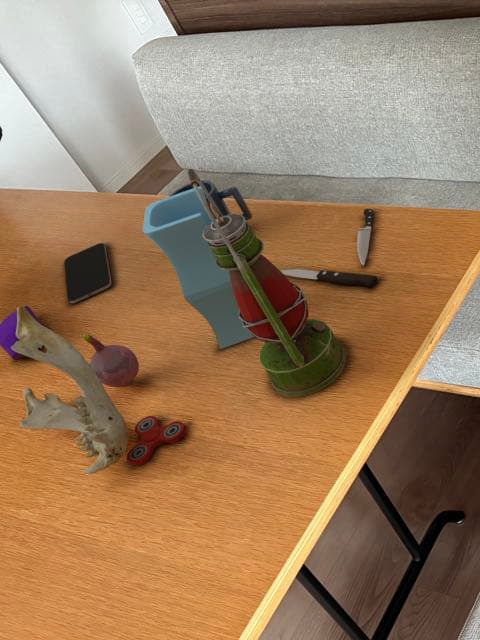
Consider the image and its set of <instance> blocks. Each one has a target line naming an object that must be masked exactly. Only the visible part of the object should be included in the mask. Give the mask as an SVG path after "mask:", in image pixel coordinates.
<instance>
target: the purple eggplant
mask: <svg viewBox="0 0 480 640" xmlns="http://www.w3.org/2000/svg"><path fill="white" fill-rule="evenodd" d="M23 307H25V309H26V310H27V311H28V312H29V314H30V315H31V316H32V317H33V318H34V319H35V320H36V321H37V322H38V323H40V321H39V319H38V317H37V316H36V314H35V312H34V311H33V310H32V308H31V307H30V306H29V305H24V306H23ZM40 324H41V323H40ZM16 329H17V309H16V310H15V311H13V312H11V313H10V314H9V315H8V316H6V317H5V318H3V320H2V321H1V322H0V347H1V348H2V349H3V351H5V352H6V354H7V355H8V356H9V357H10V358H11V359H12V360H19V359H23V358H25V357H26V356H25V355H22V354H20V353H17V352H16V351H14V350H12V349H11V346H13V345H14V344H15V343H16V341H19V340H20V339H18V338H17V336H16ZM40 349H41V348H39V347H38V350H39V351H40Z"/></svg>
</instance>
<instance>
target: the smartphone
mask: <svg viewBox="0 0 480 640" xmlns="http://www.w3.org/2000/svg"><path fill="white" fill-rule="evenodd" d="M64 272H65V273H64V274H65V284H66V295H67V296H66V297H67V301H68V302H69V303H70V304H77V303H79V302H80V301H83V300H85V299H88V298H89V297H92V296H94V295H96V294H98V293H101V292H103V291H105V290H107V289H109V288H110V287H111V286H112V283H113V282H112V278H111V271H110V266H109V258H108V253H107V248H106V245H105V243H103V242H99V243H96V244H94V245H92V246H89V247H87V248H84V249H83V250H81V251H78V252H76V253H74V254H71V255H69V256H67V257H66V258H65V259H64Z"/></svg>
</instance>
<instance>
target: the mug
mask: <svg viewBox="0 0 480 640" xmlns="http://www.w3.org/2000/svg"><path fill="white" fill-rule="evenodd" d="M201 181H202V183H203V185H204V186H205V188H206V189H207V191H208V193H209V194H210V196H211V198H212V199H213V201H214V203H215V204H216V206H217V208H218V209H219V211H220V212H221V214H222V215H223V216H226V215H229V214H232V212H231V210H230V209H229V207H228V205H227V203H226V202H225V201H224V199H227V198H229V197H233V198H234V201H235V202H236V204H237V206H238V207H239V210H240V211H241V212H242V213H240V215H242V216H243V217H244V218H245V220H246V222H247V221H249V220H251V219H253V213H252V211H251V210H250V208H249V206H248V205H247V203H246V201H245V199H244V198H243V196H242V194H241V193H240V190H239V188H238V187H236V186H231V187H228V188H225V189H223V190H221V191H220V190H218V188H217V187H216V185H215V184H214V183H213V182H212V181H210V180H205V179H204V180H201ZM198 184H199V183H198ZM199 186H200V185H198V187H199ZM190 189H193V187H192V186H191V184H190V183H187V184H184V185H183V186H181V187H179V188H177V189H176V190H175V191H173V192H172V193H171V194H170V195H169V196H168V197H170V196H173V195H176V194H179V193H182V192H185V191H188V190H190ZM204 194H205V193H204ZM205 198H206V201H207V204H208V207H209V209H210V211H211V213H212V215H213V216H214V218H215V220H216V219H217V218H216V216H215V215H214V213H213V211H212V209H211V206H210V203H211V202H210V201H209V199H208V198H207V196H206V194H205Z"/></svg>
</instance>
